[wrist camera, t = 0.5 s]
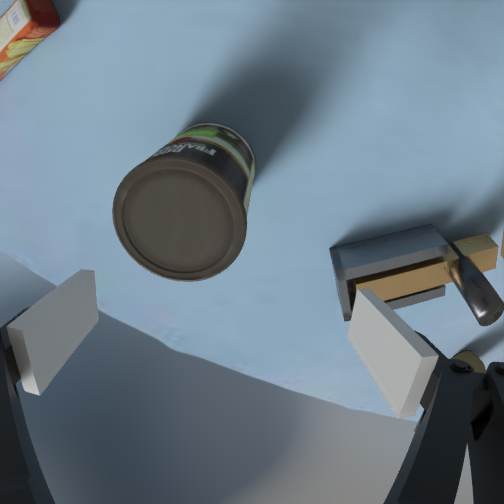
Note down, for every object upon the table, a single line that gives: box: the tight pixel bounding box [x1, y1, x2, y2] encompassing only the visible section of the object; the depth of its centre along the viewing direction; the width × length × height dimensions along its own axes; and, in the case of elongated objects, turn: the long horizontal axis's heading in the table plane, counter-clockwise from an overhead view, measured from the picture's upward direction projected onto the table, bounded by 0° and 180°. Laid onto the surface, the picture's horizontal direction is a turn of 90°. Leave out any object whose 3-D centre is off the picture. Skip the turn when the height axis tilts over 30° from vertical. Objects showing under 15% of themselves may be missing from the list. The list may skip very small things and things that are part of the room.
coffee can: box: [112, 123, 255, 282], centre depth 29 cm, size 10×10×14 cm
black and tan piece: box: [352, 233, 504, 326], centre depth 32 cm, size 20×4×12 cm, turn 107°
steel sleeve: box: [329, 224, 448, 322], centre depth 38 cm, size 14×8×5 cm, turn 107°
